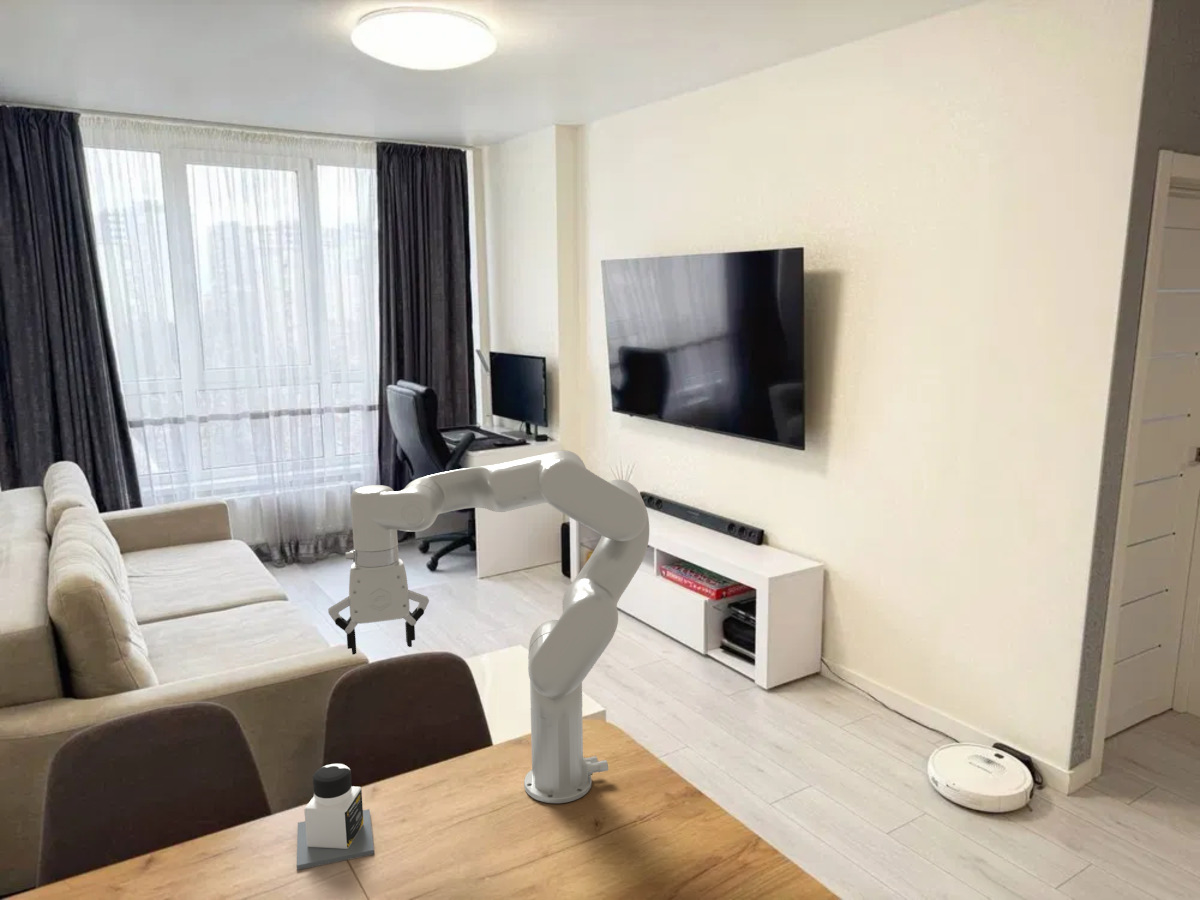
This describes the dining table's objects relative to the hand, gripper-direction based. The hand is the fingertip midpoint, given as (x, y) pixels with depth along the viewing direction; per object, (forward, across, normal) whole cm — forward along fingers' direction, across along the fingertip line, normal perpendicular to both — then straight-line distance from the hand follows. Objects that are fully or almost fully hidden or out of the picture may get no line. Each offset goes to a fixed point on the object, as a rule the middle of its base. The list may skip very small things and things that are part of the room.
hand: (381, 647), depth 152 cm
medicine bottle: (+28, -10, -12) cm, 32 cm away
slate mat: (+28, -10, -12) cm, 32 cm away
